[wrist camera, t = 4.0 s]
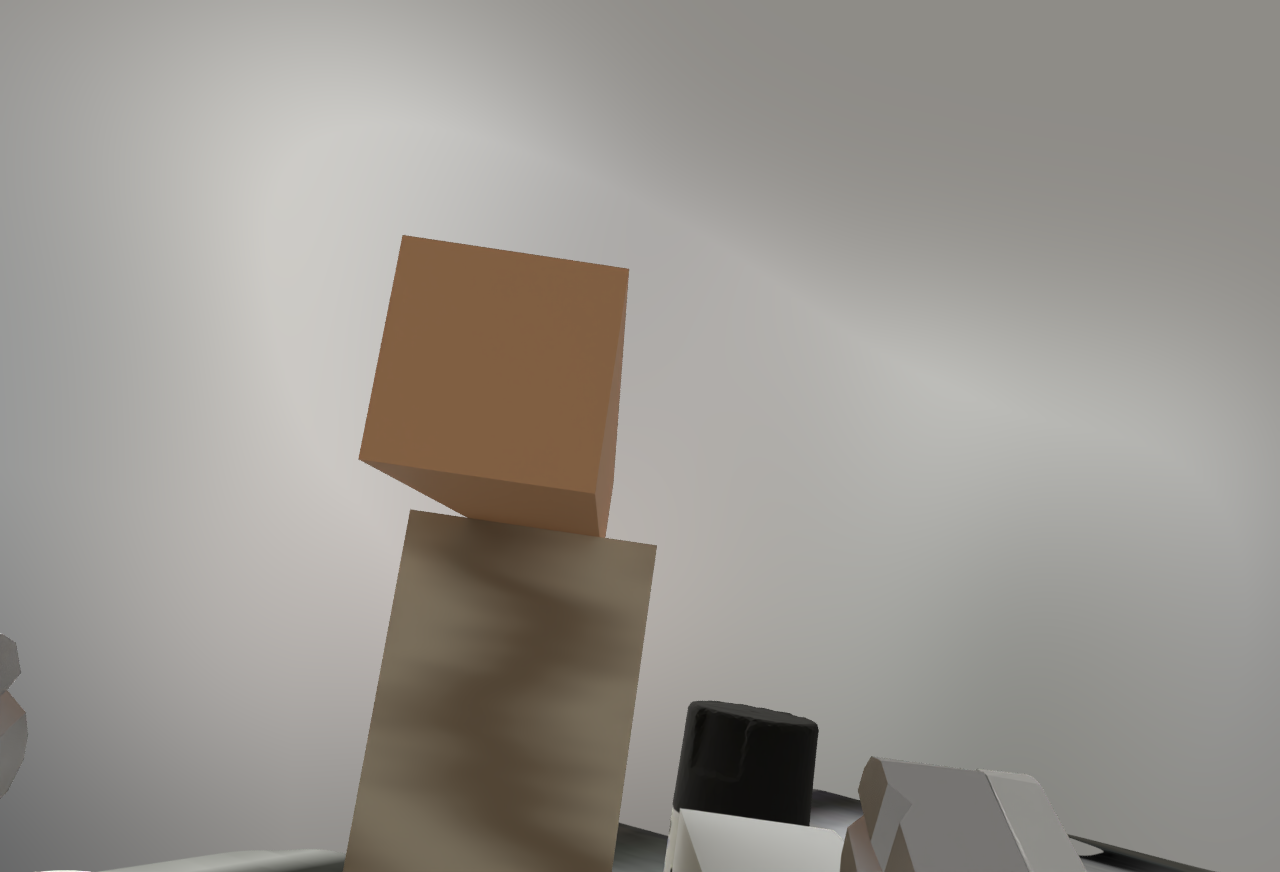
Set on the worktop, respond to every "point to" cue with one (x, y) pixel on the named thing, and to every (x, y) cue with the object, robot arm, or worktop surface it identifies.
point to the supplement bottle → (66, 871)
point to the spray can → (744, 765)
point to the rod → (501, 384)
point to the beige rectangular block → (502, 701)
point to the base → (752, 845)
